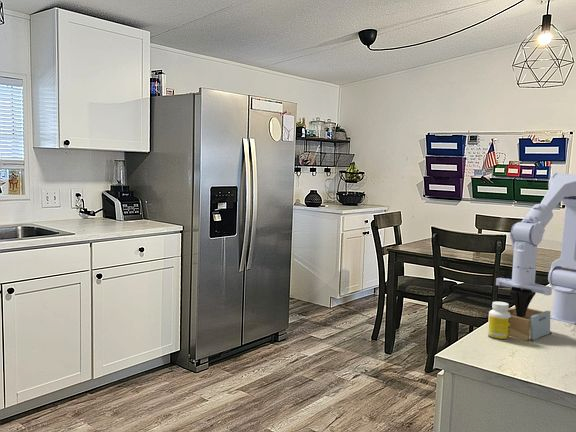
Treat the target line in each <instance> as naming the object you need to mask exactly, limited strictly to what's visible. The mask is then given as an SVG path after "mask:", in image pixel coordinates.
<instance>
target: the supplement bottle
mask: <svg viewBox="0 0 576 432" xmlns="http://www.w3.org/2000/svg"><path fill="white" fill-rule="evenodd" d="M491 306H492V307H491V308H492V309H491V310H489V311H488V321H487V333H486V334H487V335H486V336H487V338H489V339H490V340H493V341H501V342H507V341H509V340H510V336H509V335H510V321H511V314H510V313H509V312H508V311H507V310H508V309H509V308H510V307H509V303H508V302H504V301H492V304H491Z"/></svg>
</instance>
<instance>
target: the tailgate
mask: <svg viewBox="0 0 576 432" xmlns="http://www.w3.org/2000/svg"><path fill="white" fill-rule="evenodd" d="M550 315H551V311H550V310H544V311H543V312H542V313H539V314H536V315H533V316H531V327H530V339H533V341H534V340H537V339H538V338H541V337H543V336H546V335H550V334H549V333H550V331H551V319H550Z"/></svg>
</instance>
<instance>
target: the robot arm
mask: <svg viewBox="0 0 576 432" xmlns="http://www.w3.org/2000/svg"><path fill="white" fill-rule="evenodd" d="M547 185H548V190H547V192H546V194H545V195H544V197H543V198H542V200H541V202H540V203H536V204H534V205H533V206H532V207H531V208H530V209H529V211H528V212H527V213H526V215H525V216H524V217H523V219H522V220H521V221H518V222H516V223H514V224H513V225H512V226H511V230H510V233H509V237H510V240H511V247H512V249H513V253H512V254H513V257H512V272H511V278H504V277H497V278H495V286H499V287H500V286H502V287H506V288H507V287H508V288H511V289H510V290H509V292H508V293H509V295H510V297H511V299H512V301H513V304H514V307H515V308H516V314H517V316H519V317H523V316H525V314H526V311H527V308H529V306H530V303H531V302H532V300H533V298H534V297H535V295H536V294H542V295H544V296H551V295H552V290H553V301H552V302H553V303H552V314H550V320H553V321H558V322H563V323H566V324H572V325H575V324H576V173H558V172H555V173H553V174H551V176H550V178H549V179H548V184H547ZM561 202H563V204H564V205H565V212H564V220H563V221H564V222H563V229H562V239H561V241H562V242H561V248H560V249H561V250H560V257H559V258H558V259H555V260H554V261H552V262H551V265H550V270H549V271H548V276H547V280H548V283H549V286H547V285H542V284H540V283H536V274H537V273H536V271H537V269H536V268H537V255H538V245H539V244H541V242H542V240H543V238H544V233H545V231H546V229H545V228H546V227H547V225H548V224H549V222H551V220H552V219H553V218H554V213H553V211H554V209H555V208H556V207H557V206H558V205H559V204H560V203H561Z"/></svg>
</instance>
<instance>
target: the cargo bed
mask: <svg viewBox="0 0 576 432" xmlns="http://www.w3.org/2000/svg"><path fill="white" fill-rule="evenodd" d="M507 311H508V312H509V313H510V314H511V321H510V335H509V337H511V338H515V339H519V340H521V341H526V342H530V343H532V342H534V340H533V339H530V327H531V316H533V315H536V314H539V313H542V312H544V311H542V310H538V309H533V308H529V307H528V308H527V311H526V314H525V316H523V317H519V316H517V314H516V308H515V306H513V307H509V309H508V310H507ZM551 334H553V332H552V331H551V330H550V333H549V334H548V335H551Z"/></svg>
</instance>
